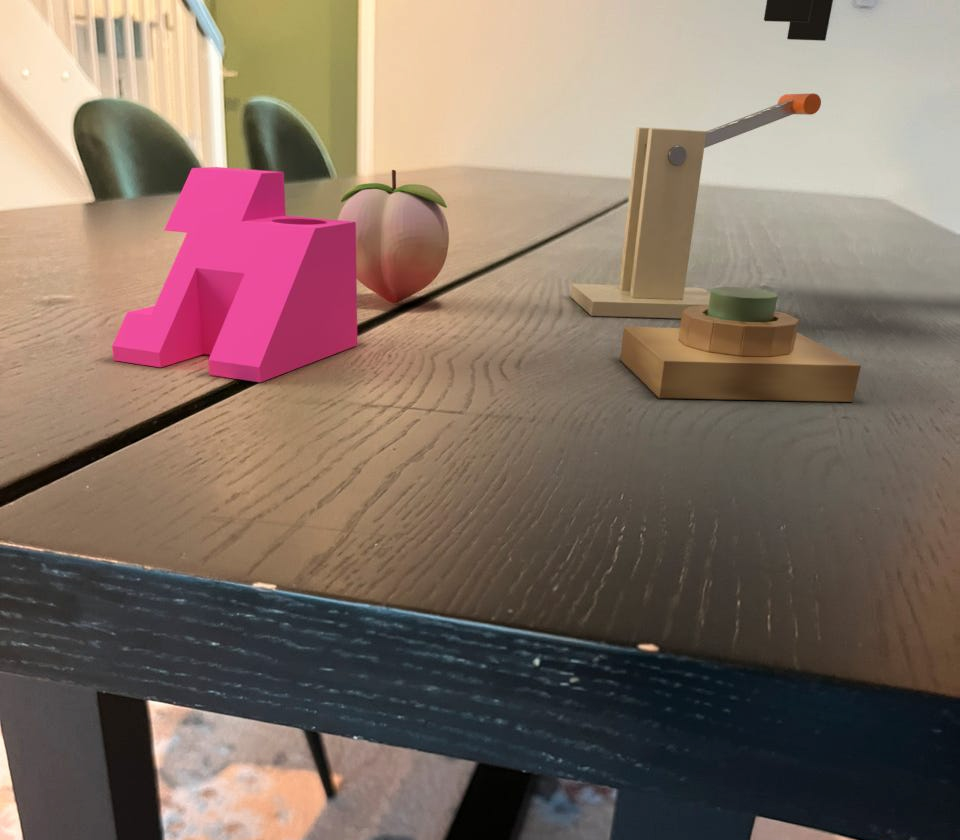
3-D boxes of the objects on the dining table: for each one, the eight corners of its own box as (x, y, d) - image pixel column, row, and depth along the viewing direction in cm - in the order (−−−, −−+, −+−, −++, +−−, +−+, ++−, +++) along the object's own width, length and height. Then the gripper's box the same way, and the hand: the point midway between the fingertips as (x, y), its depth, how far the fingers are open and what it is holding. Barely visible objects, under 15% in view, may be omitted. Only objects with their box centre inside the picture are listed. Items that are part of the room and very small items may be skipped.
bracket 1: (227, 327, 69) (215, 166, 64) (357, 345, 66) (355, 177, 61) (114, 360, 59) (89, 172, 54) (260, 382, 56) (247, 185, 51)
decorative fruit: (461, 300, 84) (466, 171, 79) (434, 315, 77) (437, 175, 72) (358, 290, 86) (357, 164, 81) (322, 305, 79) (318, 167, 74)
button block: (789, 363, 67) (801, 303, 65) (853, 402, 58) (868, 333, 57) (619, 359, 66) (626, 298, 64) (658, 398, 57) (668, 328, 55)
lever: (796, 116, 81) (791, 85, 80) (823, 117, 76) (819, 83, 75) (646, 173, 82) (639, 143, 81) (663, 178, 77) (656, 145, 76)
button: (758, 316, 62) (763, 287, 62) (782, 329, 59) (787, 298, 58) (698, 314, 62) (702, 286, 61) (718, 327, 58) (723, 296, 58)
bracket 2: (699, 301, 89) (724, 131, 83) (732, 320, 81) (762, 134, 75) (570, 297, 88) (585, 124, 81) (591, 316, 80) (609, 126, 73)
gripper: (823, -311, 68) (764, 44, 78) (783, -506, 48) (710, 9, 58) (937, -319, 66) (862, 47, 76) (948, -528, 45) (842, 13, 55)
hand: (796, 32), depth 67 cm, fingers open, 13 cm apart
